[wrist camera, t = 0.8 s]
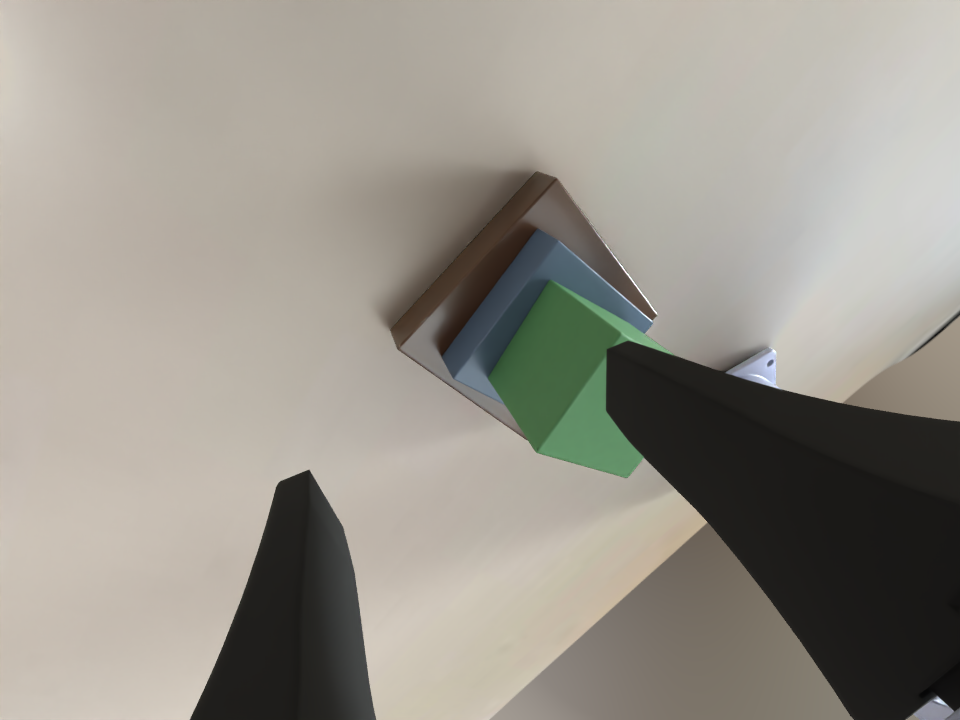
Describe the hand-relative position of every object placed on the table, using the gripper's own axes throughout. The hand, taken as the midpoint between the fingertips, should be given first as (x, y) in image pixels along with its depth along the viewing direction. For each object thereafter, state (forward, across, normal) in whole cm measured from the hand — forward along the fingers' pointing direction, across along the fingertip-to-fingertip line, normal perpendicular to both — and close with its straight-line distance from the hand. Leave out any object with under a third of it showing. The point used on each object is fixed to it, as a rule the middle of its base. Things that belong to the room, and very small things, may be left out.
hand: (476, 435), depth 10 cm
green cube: (+6, -6, +4) cm, 9 cm away
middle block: (+8, -6, +4) cm, 10 cm away
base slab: (+10, -6, +4) cm, 12 cm away
